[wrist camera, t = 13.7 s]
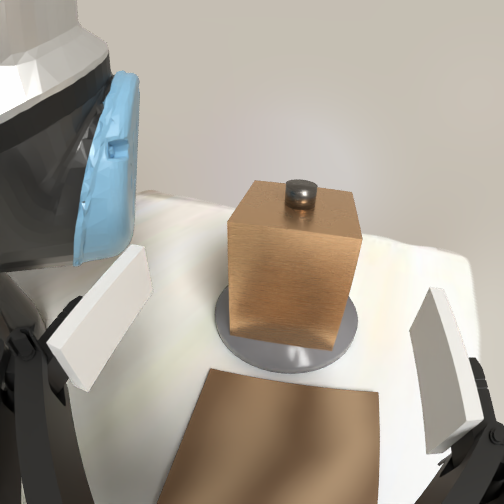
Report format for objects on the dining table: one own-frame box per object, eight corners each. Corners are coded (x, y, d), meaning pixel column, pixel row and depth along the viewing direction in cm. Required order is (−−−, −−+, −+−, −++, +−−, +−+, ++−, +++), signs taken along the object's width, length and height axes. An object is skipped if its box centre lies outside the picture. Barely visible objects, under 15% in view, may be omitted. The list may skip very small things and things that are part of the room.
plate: (186, 323, 29) (184, 316, 28) (269, 261, 38) (269, 254, 38) (313, 400, 22) (315, 394, 21) (373, 306, 31) (376, 299, 31)
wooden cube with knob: (230, 335, 26) (227, 199, 20) (252, 276, 34) (255, 164, 27) (331, 351, 25) (367, 217, 18) (333, 288, 32) (354, 175, 26)
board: (150, 522, 12) (148, 522, 12) (210, 371, 24) (210, 368, 24) (369, 556, 10) (371, 556, 10) (376, 394, 22) (378, 392, 21)
